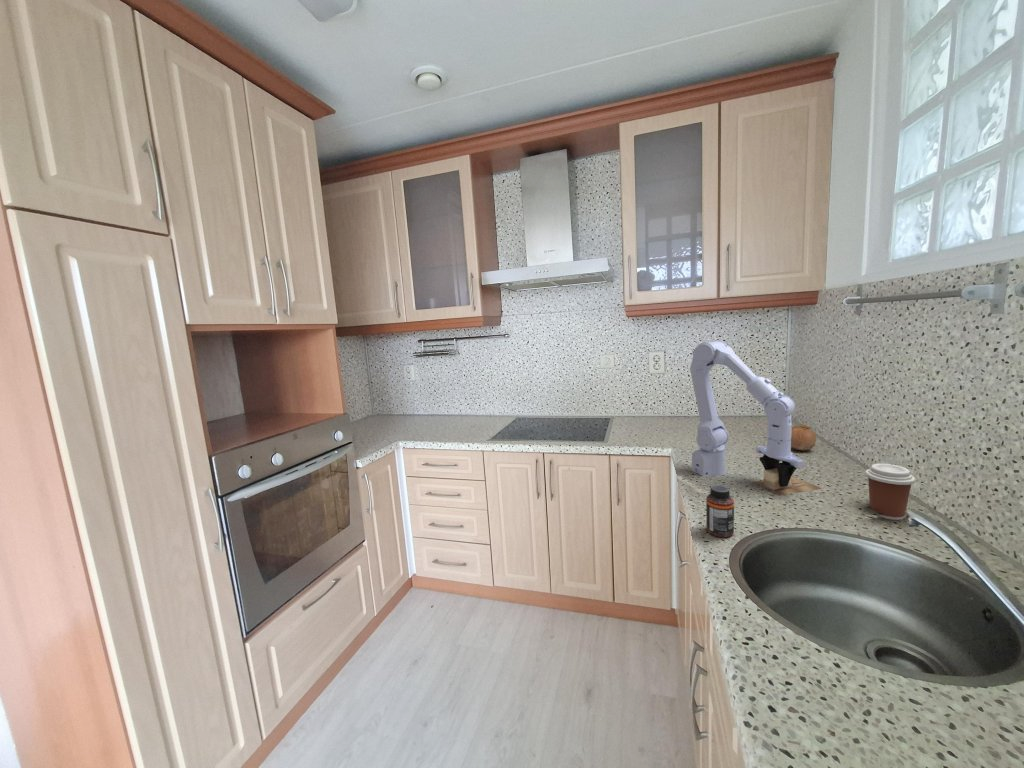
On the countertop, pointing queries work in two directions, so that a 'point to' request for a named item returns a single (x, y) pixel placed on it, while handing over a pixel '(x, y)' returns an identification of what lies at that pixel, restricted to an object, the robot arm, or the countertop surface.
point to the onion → (802, 438)
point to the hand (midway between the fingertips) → (777, 483)
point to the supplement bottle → (720, 512)
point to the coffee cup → (889, 490)
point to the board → (793, 487)
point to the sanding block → (774, 480)
